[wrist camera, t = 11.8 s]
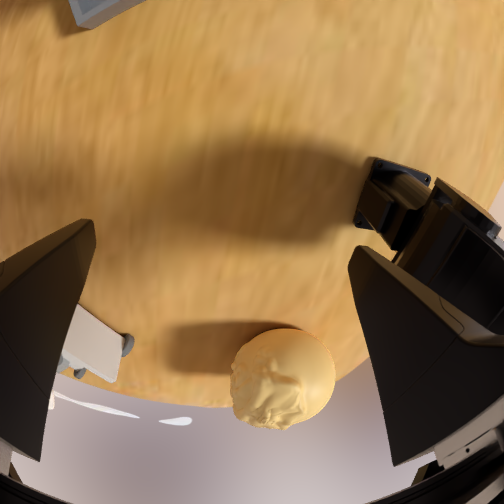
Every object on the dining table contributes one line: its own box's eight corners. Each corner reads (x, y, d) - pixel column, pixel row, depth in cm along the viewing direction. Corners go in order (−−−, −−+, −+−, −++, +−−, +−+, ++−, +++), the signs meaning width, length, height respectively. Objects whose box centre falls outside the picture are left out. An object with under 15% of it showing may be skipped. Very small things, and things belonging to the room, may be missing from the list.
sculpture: (240, 309, 30) (248, 402, 21) (339, 319, 32) (367, 398, 24) (219, 365, 36) (222, 440, 27) (302, 370, 39) (316, 437, 30)
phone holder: (60, 421, 29) (-6, 380, 23) (74, 369, 37) (17, 328, 31) (122, 405, 24) (24, 345, 18) (136, 333, 32) (61, 274, 26)
